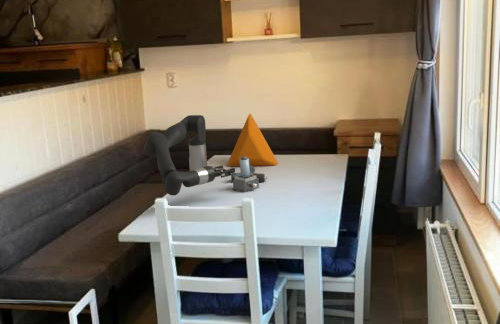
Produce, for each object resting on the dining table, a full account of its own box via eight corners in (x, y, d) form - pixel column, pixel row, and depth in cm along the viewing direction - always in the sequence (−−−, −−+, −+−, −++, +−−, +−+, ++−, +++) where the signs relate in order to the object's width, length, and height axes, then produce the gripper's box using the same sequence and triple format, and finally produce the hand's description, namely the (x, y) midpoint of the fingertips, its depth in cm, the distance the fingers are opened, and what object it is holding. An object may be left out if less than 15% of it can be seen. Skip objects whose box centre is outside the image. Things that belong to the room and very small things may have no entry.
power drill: (274, 174, 302) (266, 184, 284) (241, 174, 307) (231, 183, 288) (273, 164, 301) (265, 174, 282) (240, 164, 306) (230, 173, 287)
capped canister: (238, 179, 274) (237, 157, 272) (245, 177, 277) (244, 155, 275) (245, 180, 271) (243, 158, 269) (252, 178, 274) (250, 156, 272)
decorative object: (225, 168, 320) (221, 117, 314) (229, 162, 335) (226, 113, 329) (276, 167, 316) (274, 115, 309) (278, 161, 331) (276, 111, 324)
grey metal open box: (233, 189, 275) (232, 177, 273) (247, 185, 282) (246, 172, 280) (249, 193, 267) (248, 180, 266) (263, 188, 274) (262, 175, 272)
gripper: (212, 169, 248) (238, 162, 259) (192, 165, 258) (218, 159, 269) (213, 185, 250) (239, 178, 261) (193, 181, 260) (219, 174, 271)
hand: (228, 168), depth 265 cm, fingers open, 8 cm apart
